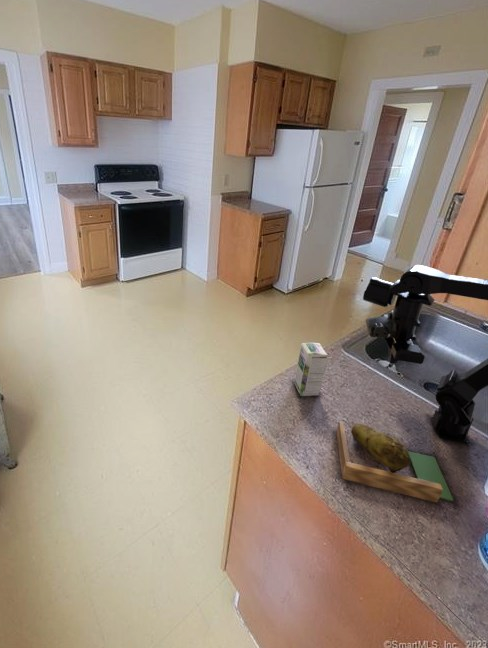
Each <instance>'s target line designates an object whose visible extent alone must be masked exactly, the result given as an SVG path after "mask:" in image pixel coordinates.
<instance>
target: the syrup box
mask: <svg viewBox="0 0 488 648" xmlns="http://www.w3.org/2000/svg"><path fill="white" fill-rule="evenodd" d="M299 349H300V350H299V356H298V360H297V365H296V371H295V372H296V373H295V376H294V381H293V382H294V386H295V387H296V390H297V392H298V394H299V396H300V397H312V396H314V397H315V396H320V393H321V387H322V384H323V378H324V374H325V370H326V366H327V365H326V364H327V362H328V361H327V360H328V356H329V354H328V353H327V352H326V350H325V348H324V347H323V346H322V344H321V343H319V342H303V343H301V344H300V348H299Z"/></svg>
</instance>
